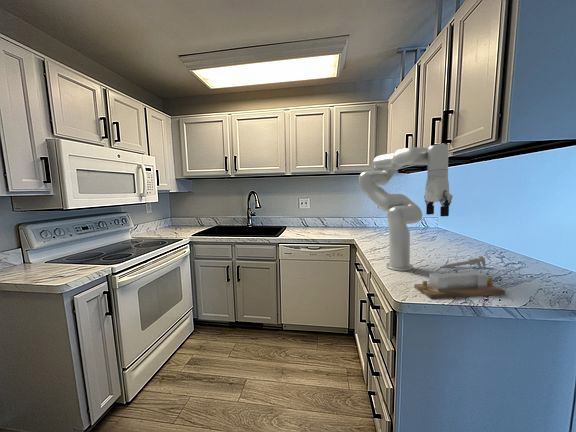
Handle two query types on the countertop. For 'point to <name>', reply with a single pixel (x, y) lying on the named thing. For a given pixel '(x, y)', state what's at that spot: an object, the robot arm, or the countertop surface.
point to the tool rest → (459, 291)
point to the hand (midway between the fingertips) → (437, 215)
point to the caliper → (467, 262)
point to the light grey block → (457, 280)
